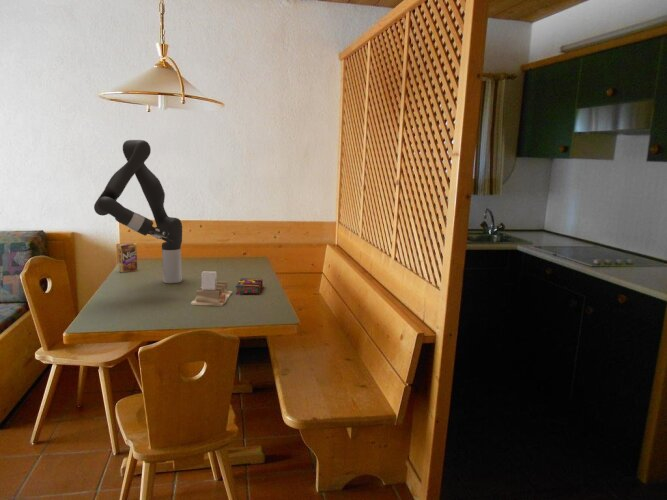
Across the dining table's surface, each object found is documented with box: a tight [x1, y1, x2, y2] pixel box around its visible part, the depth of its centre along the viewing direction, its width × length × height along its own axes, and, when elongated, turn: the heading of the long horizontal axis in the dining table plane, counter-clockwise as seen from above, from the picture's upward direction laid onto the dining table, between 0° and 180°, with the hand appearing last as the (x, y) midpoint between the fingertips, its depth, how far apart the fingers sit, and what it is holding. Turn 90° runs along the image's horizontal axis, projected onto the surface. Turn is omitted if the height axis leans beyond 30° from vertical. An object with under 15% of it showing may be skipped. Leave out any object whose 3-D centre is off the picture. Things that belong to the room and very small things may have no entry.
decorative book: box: [235, 277, 264, 296], centre depth 254 cm, size 11×16×5 cm
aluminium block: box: [200, 270, 218, 291], centre depth 232 cm, size 3×6×13 cm, turn 89°
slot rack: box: [190, 281, 233, 307], centre depth 238 cm, size 20×14×6 cm
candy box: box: [117, 242, 138, 273], centre depth 285 cm, size 9×4×15 cm, turn 134°
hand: (172, 240), depth 240 cm, fingers open, 8 cm apart
